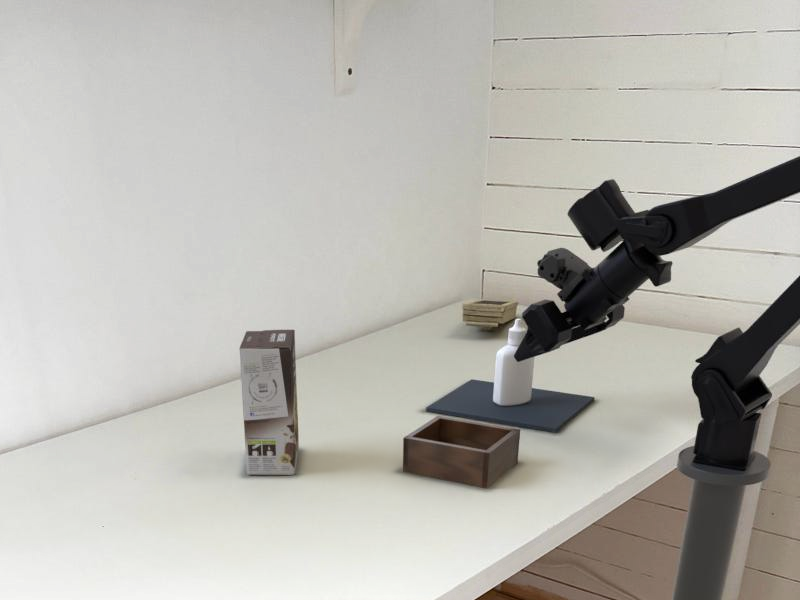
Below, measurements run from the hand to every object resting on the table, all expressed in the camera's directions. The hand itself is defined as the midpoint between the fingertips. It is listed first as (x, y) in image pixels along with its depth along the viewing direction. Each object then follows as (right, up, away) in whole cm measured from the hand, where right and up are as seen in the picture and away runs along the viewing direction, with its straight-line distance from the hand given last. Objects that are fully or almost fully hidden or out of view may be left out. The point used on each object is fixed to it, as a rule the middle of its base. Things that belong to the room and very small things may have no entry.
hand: (533, 351), depth 140 cm
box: (+2, +19, +47) cm, 51 cm away
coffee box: (-36, -18, -11) cm, 42 cm away
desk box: (-13, -19, -14) cm, 27 cm away
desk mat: (-2, -6, +6) cm, 9 cm away
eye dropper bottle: (-2, -6, +6) cm, 9 cm away
